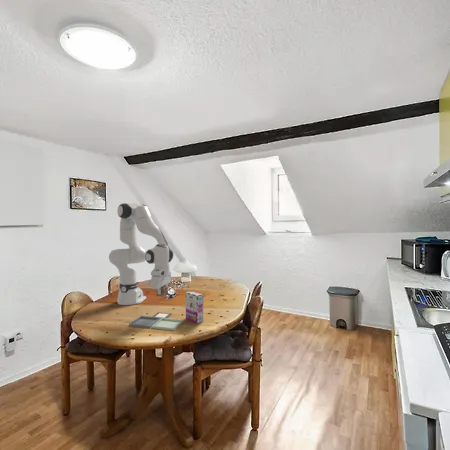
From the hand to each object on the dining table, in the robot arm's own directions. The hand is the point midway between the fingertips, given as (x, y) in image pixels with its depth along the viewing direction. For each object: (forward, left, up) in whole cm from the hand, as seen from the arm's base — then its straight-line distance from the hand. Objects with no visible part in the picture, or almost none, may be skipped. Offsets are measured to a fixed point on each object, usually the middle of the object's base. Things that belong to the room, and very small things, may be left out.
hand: (162, 292), depth 171 cm
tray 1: (+13, -4, -15) cm, 20 cm away
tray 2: (+13, +10, -15) cm, 22 cm away
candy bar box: (+2, +22, -15) cm, 27 cm away
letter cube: (0, 0, -2) cm, 2 cm away
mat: (0, 0, -15) cm, 15 cm away
